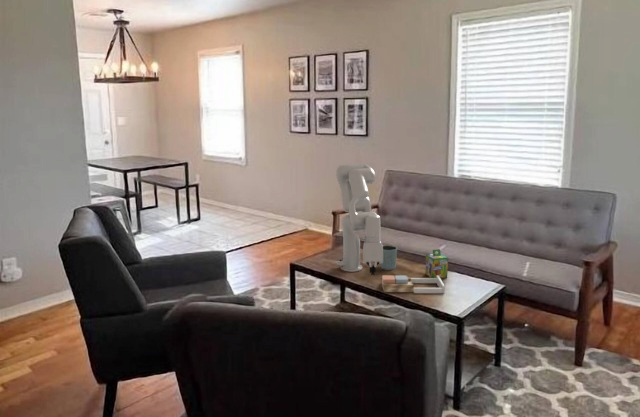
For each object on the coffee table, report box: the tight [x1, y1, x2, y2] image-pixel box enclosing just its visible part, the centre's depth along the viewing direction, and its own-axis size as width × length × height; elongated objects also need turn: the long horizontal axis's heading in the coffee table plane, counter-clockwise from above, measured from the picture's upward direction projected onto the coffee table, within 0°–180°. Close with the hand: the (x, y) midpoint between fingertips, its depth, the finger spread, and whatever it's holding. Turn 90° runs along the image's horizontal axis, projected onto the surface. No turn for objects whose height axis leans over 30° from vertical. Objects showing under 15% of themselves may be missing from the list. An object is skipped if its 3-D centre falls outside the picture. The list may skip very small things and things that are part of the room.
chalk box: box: [424, 248, 449, 279], centre depth 275 cm, size 9×9×15 cm
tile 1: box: [381, 274, 395, 285], centre depth 259 cm, size 6×6×4 cm
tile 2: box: [394, 275, 409, 284], centre depth 259 cm, size 6×6×4 cm
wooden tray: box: [381, 277, 415, 293], centre depth 259 cm, size 15×12×4 cm
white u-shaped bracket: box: [410, 275, 446, 294], centre depth 259 cm, size 15×15×4 cm
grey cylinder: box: [380, 244, 398, 271], centre depth 290 cm, size 10×10×12 cm
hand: (372, 273), depth 258 cm, fingers closed
